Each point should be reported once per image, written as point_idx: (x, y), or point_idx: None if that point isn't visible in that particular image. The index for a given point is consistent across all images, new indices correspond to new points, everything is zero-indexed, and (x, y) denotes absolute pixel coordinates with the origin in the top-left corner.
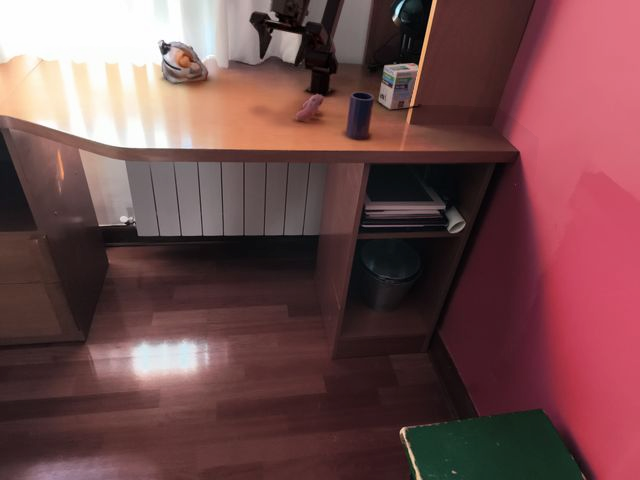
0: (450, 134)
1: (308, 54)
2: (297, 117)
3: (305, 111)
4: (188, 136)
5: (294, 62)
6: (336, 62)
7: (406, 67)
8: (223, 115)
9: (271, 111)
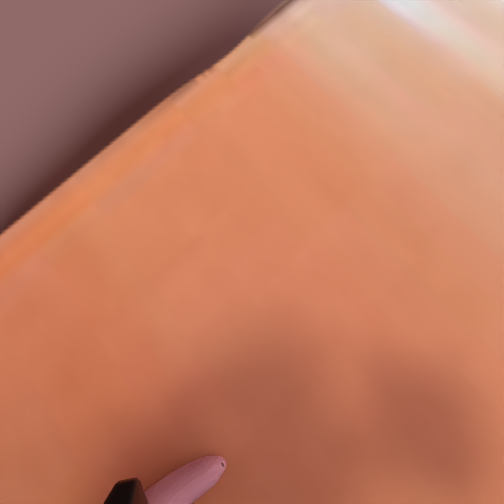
0: None
1: None
2: (210, 456)
3: (164, 487)
4: (424, 22)
5: (126, 497)
6: None
7: None
8: (497, 252)
9: (386, 462)
